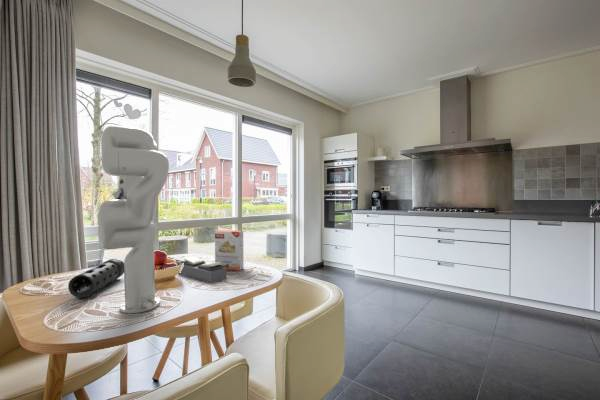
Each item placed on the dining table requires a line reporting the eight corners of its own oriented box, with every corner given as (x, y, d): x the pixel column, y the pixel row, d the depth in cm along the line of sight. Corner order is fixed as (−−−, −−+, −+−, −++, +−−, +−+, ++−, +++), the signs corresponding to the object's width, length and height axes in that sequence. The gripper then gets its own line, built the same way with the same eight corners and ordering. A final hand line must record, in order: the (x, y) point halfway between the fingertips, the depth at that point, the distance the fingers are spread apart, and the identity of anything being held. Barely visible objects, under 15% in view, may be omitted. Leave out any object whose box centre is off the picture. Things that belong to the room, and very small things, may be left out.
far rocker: (202, 264, 144) (202, 260, 143) (193, 266, 139) (193, 262, 139) (192, 259, 148) (193, 256, 148) (184, 261, 144) (184, 258, 144)
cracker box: (214, 270, 149) (214, 231, 149) (219, 267, 155) (219, 229, 155) (239, 271, 147) (239, 231, 147) (243, 268, 153) (243, 230, 153)
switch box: (226, 277, 136) (226, 265, 136) (210, 282, 129) (210, 269, 128) (194, 269, 151) (194, 258, 151) (178, 273, 144) (178, 261, 143)
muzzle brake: (67, 301, 108) (66, 274, 108) (106, 279, 136) (105, 257, 135) (94, 300, 109) (94, 273, 109) (127, 278, 137) (127, 257, 137)
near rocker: (220, 265, 135) (219, 261, 135) (211, 268, 131) (211, 264, 131) (209, 265, 140) (209, 262, 140) (201, 268, 136) (200, 264, 136)
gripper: (121, 171, 112) (122, 214, 113) (152, 173, 129) (153, 210, 130) (105, 171, 114) (106, 213, 115) (138, 173, 131) (139, 210, 132)
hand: (131, 212), depth 122 cm, fingers open, 9 cm apart
